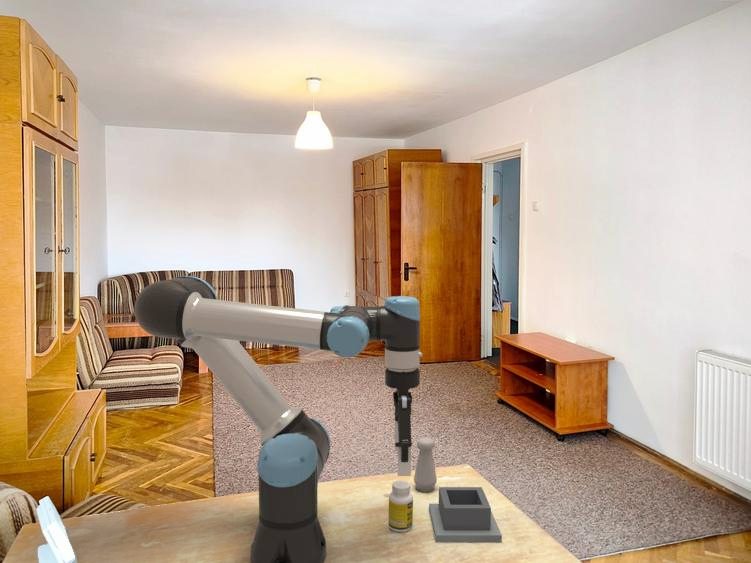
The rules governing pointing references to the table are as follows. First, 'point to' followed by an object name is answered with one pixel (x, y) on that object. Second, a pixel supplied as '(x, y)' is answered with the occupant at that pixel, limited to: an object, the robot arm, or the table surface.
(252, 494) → the table surface
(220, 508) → the table surface
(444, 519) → the socket board
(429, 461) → the salt shaker
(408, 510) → the supplement bottle
